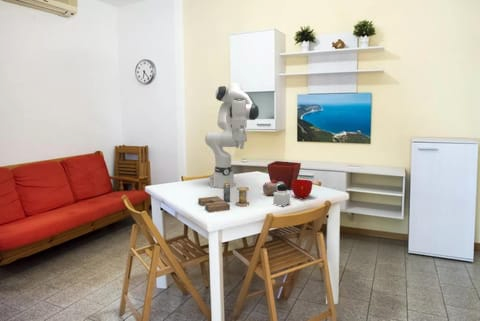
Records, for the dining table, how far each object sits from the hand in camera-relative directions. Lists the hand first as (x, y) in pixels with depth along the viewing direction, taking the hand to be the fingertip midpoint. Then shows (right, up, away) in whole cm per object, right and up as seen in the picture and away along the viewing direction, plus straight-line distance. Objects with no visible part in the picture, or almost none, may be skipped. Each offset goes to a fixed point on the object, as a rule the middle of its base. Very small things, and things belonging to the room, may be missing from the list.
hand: (239, 148), depth 223 cm
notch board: (-15, -34, -12) cm, 39 cm away
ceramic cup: (+39, -31, +7) cm, 50 cm away
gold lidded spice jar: (-8, -32, -1) cm, 33 cm away
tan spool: (+2, -33, -8) cm, 34 cm away
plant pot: (+31, -26, +36) cm, 55 cm away
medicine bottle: (+25, -33, -8) cm, 42 cm away
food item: (+22, -30, +15) cm, 40 cm away
